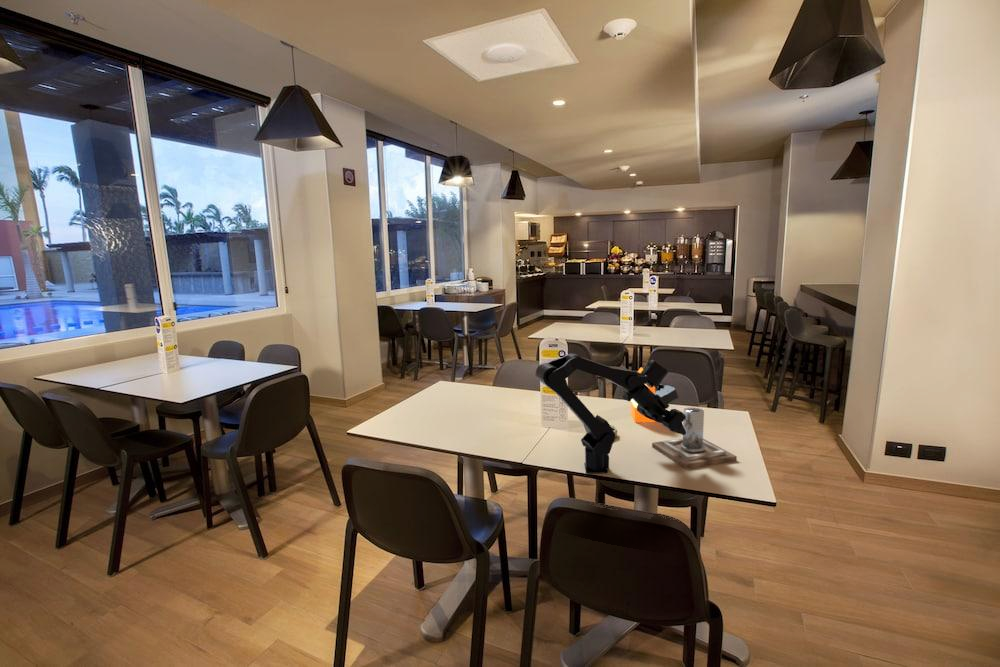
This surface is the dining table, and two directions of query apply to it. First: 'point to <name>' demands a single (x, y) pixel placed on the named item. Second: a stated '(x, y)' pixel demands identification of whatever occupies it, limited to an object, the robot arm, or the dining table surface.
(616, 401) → the dining table surface
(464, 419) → the dining table surface
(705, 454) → the bronze base
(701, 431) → the silver metal cup
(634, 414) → the orange juice
